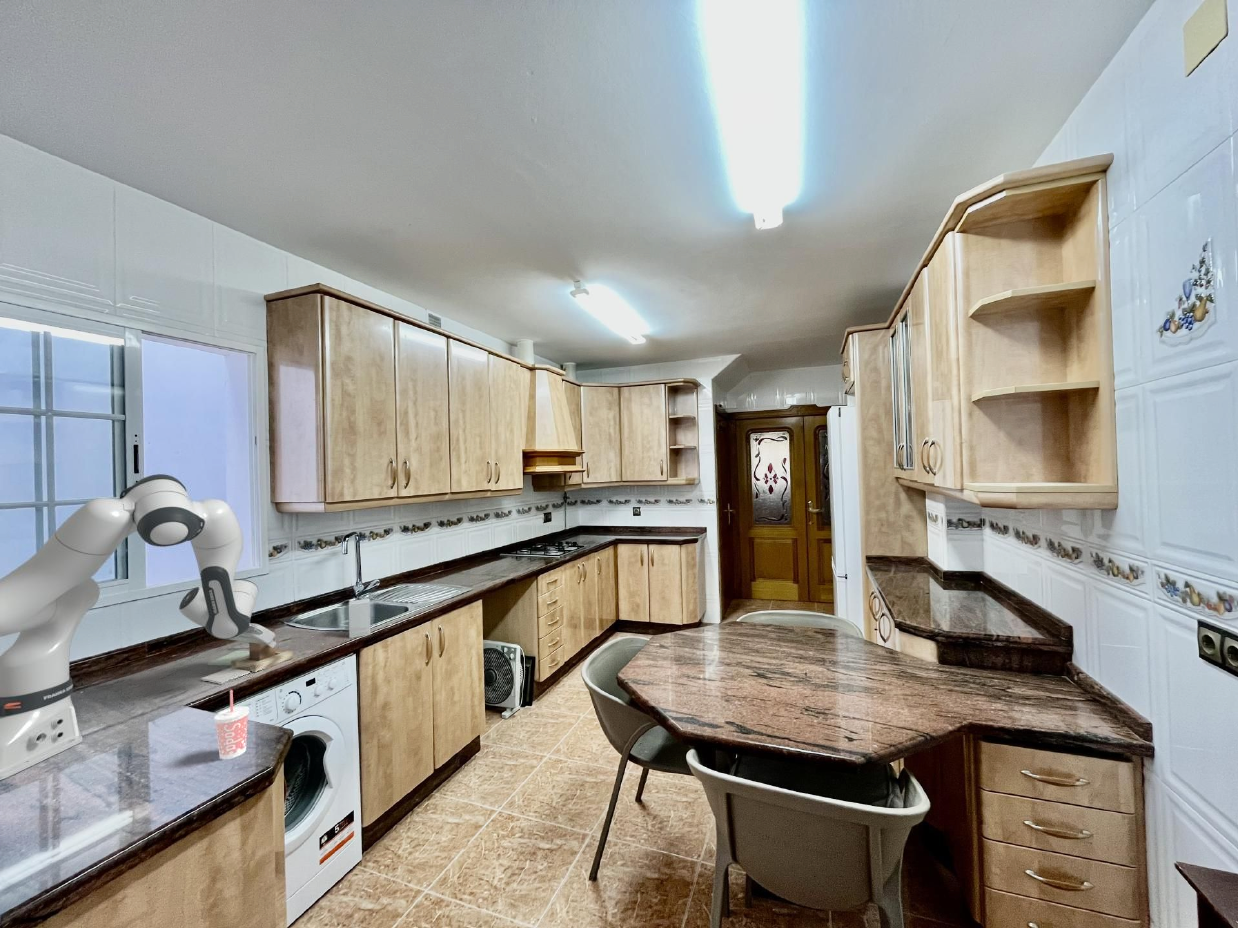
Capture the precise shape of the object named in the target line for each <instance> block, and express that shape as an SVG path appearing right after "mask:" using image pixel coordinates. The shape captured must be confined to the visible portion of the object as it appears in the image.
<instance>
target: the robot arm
mask: <svg viewBox="0 0 1238 928" xmlns="http://www.w3.org/2000/svg"><path fill="white" fill-rule="evenodd" d="M136 532H137V533H138V535H139V536H140V538H141V539H142V540H143V541H144V542H145V543H147V544H148V545H150V546H153V547H160V548H161V547H162V548H163V547H164V548H165V547H166V548H167V547H172V546H176V545H181V544H183V543H185V542H190V544H191V547H192V550H193V552H194V556H195V560H196V563H197V567H198V571H199V575H200V576H199V577H200V581H201V586H197V587H194V588H192V589H191V590H190V591H188V592H187V594H185V596H184V597H183V598H182V600H181V602H180V604H179V606H178V607H179V608H178V610H179V611H180V613H181V614H182V615H183V616H184V617H186V619H188V620H190V621H191V622H193V623H195V624H196V625H198V626H200V627H205V630H206V632H208V634H210V635H211V636H212V637H214V638H216V639H219V640H230V641H237V642H244V643H246V644H249V642H251V643H258V644H266V645H267V646H268V647H271V648H273V647H274V646H275V647H276V645H277V642H276V640H275V641H273V639H274V637H275V638H276V634H275V633H273V632H272V631H270V630H268V629H266V628H267V627H265V626H262V625H260V624H258V623H251V617H252V613H253V611H254V607H255V605H256V601H257V597H258V593H259V588H258V586H257V585H256V583H254V582H252V581H251V580H248V579H244V578H236V579H234V577H235V574H236V570H237V567H238V565H239V562H240V559H241V556H242V553H243V549H244V538H243V537H244V536H243V533H242V529H241V525H240V522H239V520H238V518H237V516H236V514H235V513H234V511H233V509H232V508H231V507H230V505H229V504H228V503H227V502H225V500H222V499H217V498H206V499H202V500H199V501H194V500H191V498H190V495H189V494H188V492H187V488H186V485H184V484H183V483H182V482H181V481H180V480H179V479H178V478H176V477H174V476H173V475H168V474H164V473H163V474H160V473H158V474H151V475H148V476H145V477H143V478H141V479H139V480H138V481H136V482H135V483H133V485H131V486H129V487H127V488H126V487H125V488H124V489H123V490H122V491H121V492H120V495H119V499H118V498H117V499H116V498H111V497H99V498H95V499H92V500H90V501H88V502H87V503H85V504H84V505H82V506H81V507H80V508H78V509H77V510H76V511H74V512H73V513H72V514H71V515H70V516H69V517H68V518H67V519H65V520H64V522H63V523H62V524H61V525H60V526H59V527H58V528H57V530H55V532H54V533H53V534H52V535H51V536H50V538H48V540H47V541H46V542H45V543H44V544H43V545H42V546H41V547H40V549H39V550H38V551H37V552H36V553H34V555H32V556H31V557H30V558H29V559H27V560H26V561H24V562H23V563H22V564H21V565H19V566H17V568H15V569H14V570H12V571H10V572H9V573H8V574H6V575H5V576H4V577H1V578H0V638H1V637H2V638H3V637H6V636H9V635H13V634H17V633H19V635H18V636H17V638H16V639H15V641H14V643H12V645H11V646H9V648H8V649H7V650H6V651H4V652H2V653H1V655H0V781H2V780H4V779H7V778H9V777H11V776H13V775H15V774H18V773H20V772H22V771H24V770H26V769H28V768H30V767H32V766H35V765H36V764H38V763H41V762H43V761H44V760H47V759H49V758H51V757H53V756H56V755H57V754H60V753H62V752H64V751H66V750H68V749H70V748H72V747H74V746H77V745H78V744H81V743H83V741H84V740H83V738H84V737H83V736H82V732H81V730H80V727H79V725H78V721H77V714H76V709H75V707H74V704H73V701H72V698H71V695H72V693H74V690H73V688H74V684H73V678H72V677H71V676H70V655H71V654H70V652H71V645H72V641H73V638H74V636H75V632H76V630H77V628H78V626H79V624H80V623H81V621H82V620H83V618H84V617H85V615H86V614H87V612H88V611H90V610H91V609H92V608H93V607H94V606H95V605H96V603H97V602H98V601H99V597H100V592H101V591H100V586H99V584H98V583H97V581H96V580H95V579H94V578H92V577H93V576H95V575H96V574H97V572H98V571H99V570H100V569H101V568H102V566H104V564H105V563H106V562H107V561H108V559H110V558H111V556H112V555H113V554H114V552H116V550H117V549H118V548H119V547H120V546H121V544H122V542H123V541H124V540H125V539H127V538H128V537H129V536H131V535H132V534H133V533H136ZM261 633H262V634H261Z"/></svg>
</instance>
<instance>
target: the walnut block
mask: <svg viewBox="0 0 1238 928" xmlns="http://www.w3.org/2000/svg"><path fill="white" fill-rule="evenodd" d="M265 628H266V629H268V630H270V631H272V632H273V633H275V632H276V631H275V630H276V629H275V628H271V627H265ZM261 634H262V633H261ZM273 641H275V642H276V636H275V637H274V639H273ZM248 646H249V647H248V649H249V650H248V651H249V655H250V660H253V661H261V660H263V659H266V658H269V657H272V656H274V655H275V649H276V645H275V646H274V647H273V648H271V647H268V646H267V645H266V644H258V643H251V642H249V643H248Z"/></svg>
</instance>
